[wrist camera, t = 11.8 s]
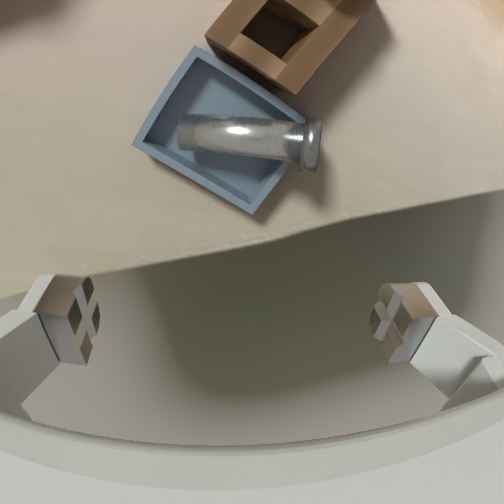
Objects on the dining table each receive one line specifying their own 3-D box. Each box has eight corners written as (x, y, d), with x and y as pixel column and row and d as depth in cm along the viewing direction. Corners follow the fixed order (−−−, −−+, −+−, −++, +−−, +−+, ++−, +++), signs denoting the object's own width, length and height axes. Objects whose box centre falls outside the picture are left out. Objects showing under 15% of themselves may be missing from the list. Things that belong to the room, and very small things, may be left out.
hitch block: (369, -11, 22) (396, -22, 17) (282, 90, 29) (296, 95, 23) (301, -61, 19) (317, -83, 14) (207, 42, 25) (204, 35, 20)
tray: (310, 123, 31) (319, 129, 28) (249, 203, 35) (252, 214, 32) (197, 47, 25) (194, 45, 23) (138, 138, 30) (131, 144, 27)
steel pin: (194, 105, 29) (321, 116, 27) (192, 152, 31) (314, 166, 30) (174, 107, 24) (323, 120, 23) (172, 162, 27) (315, 179, 25)
